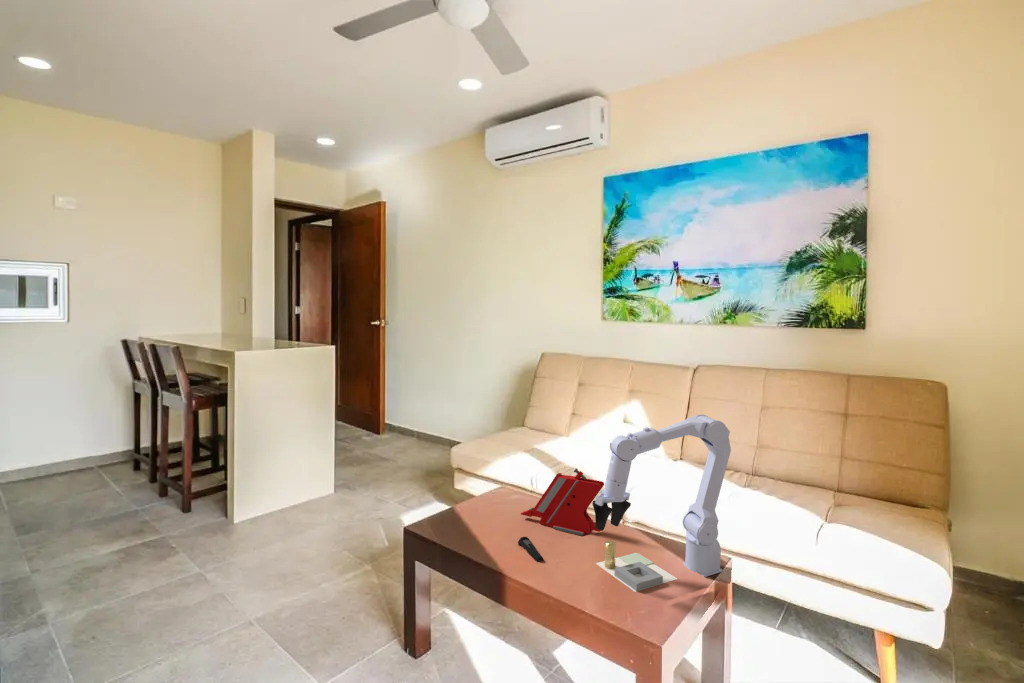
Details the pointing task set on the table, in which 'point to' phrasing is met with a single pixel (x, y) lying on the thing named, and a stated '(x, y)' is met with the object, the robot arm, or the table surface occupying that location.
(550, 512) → the tool
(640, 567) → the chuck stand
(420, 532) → the table surface
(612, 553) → the brass cylinder
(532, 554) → the electric trimmer
